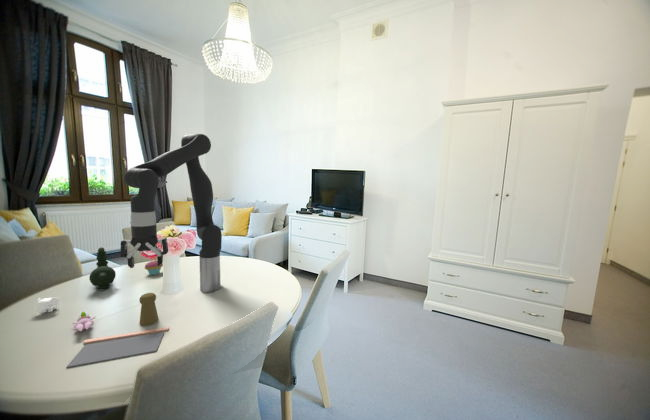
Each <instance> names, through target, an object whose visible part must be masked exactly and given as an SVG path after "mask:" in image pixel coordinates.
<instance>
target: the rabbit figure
mask: <svg viewBox="0 0 650 420" xmlns="http://www.w3.org/2000/svg"><path fill="white" fill-rule="evenodd" d="M94 319H96V317H95V316H93V317H92V318H91V316H90V314H89V313H86V312H85V311H82V312H81V313H80V315H79V316H78V319H77V321H76V322H71V324H72V325H74V326H73V329H76V330H77V331H79V332H82V331H83V330H88V329H90V327H91V326H92V325H93V324H94Z"/></svg>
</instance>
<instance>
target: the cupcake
mask: <svg viewBox="0 0 650 420" xmlns="http://www.w3.org/2000/svg"><path fill="white" fill-rule="evenodd" d="M157 256H158V255H157ZM157 256H156V257H155V256H154V260H151V261H149V262H147V263H146V264H145V266H144V269H145V270H147V272H148V274H149V275H151V276H152V275H157V274H160V271H161V269H162V267H164V265H163V263H164V262H163V263H162V264H161V265H160V266H158V263H157Z"/></svg>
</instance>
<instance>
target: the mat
mask: <svg viewBox="0 0 650 420" xmlns="http://www.w3.org/2000/svg"><path fill="white" fill-rule="evenodd" d="M164 334H165V331H163V332H156V333H150V334H144V335H138V336H131V337H125V338H119V339H113V340H106V341H100V342H94V343H88V344H84V345H83V347H82V348H81V349H80V350H79V352H78V353H77V354H76V355H75V356H74V357H73V359H71V361H69V363H68V364H67V366H66V369H68V368H74V367H80V366H84V365H91V364H96V363H101V362H106V361H107V362H108V361H113V360H117V359H124V358H129V357H134V356H139V355H144V354H146V355H147V354H149V353H156V352H157V351H158V349H159V347H160V344H161V341H162V339H163V337H164Z"/></svg>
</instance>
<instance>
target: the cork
mask: <svg viewBox="0 0 650 420" xmlns="http://www.w3.org/2000/svg"><path fill="white" fill-rule="evenodd" d="M156 299H157V295H156V293H154V292H146V293H144V294H142V295H141V296H140V297H139V304H140V305H141V308H140V315H139V324H138V325H140V326H141V327H142V326H143V327H149V326H150V325H154V324H156V323H157V322H158V321H159V314H158V310H157V305H156V301H157V300H156Z"/></svg>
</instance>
